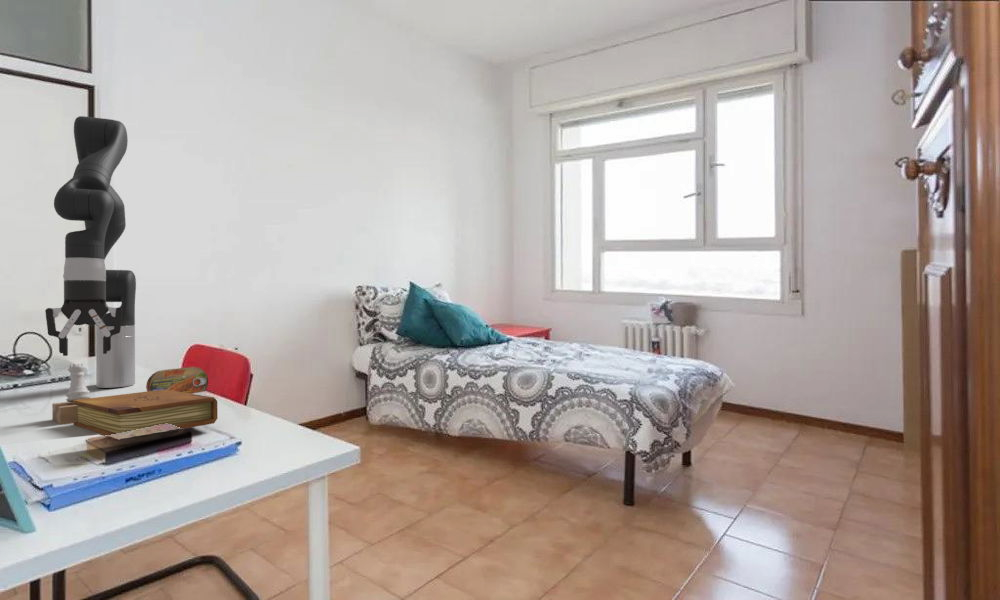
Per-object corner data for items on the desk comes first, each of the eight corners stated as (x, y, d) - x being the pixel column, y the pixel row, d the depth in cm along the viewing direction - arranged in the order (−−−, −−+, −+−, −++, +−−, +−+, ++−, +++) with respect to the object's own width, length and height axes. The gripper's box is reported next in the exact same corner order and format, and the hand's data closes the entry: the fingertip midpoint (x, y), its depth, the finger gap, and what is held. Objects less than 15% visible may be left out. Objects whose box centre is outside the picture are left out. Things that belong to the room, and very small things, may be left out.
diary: (217, 423, 121) (217, 396, 121) (118, 441, 106) (118, 410, 106) (167, 412, 134) (167, 388, 134) (73, 426, 119) (73, 399, 119)
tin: (149, 404, 144) (149, 371, 144) (144, 402, 146) (144, 370, 146) (209, 396, 157) (209, 365, 157) (203, 395, 158) (203, 365, 158)
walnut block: (52, 421, 125) (52, 403, 125) (95, 416, 131) (95, 398, 131) (60, 426, 120) (60, 407, 120) (105, 420, 126) (105, 402, 126)
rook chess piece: (68, 400, 122) (66, 363, 124) (64, 403, 125) (62, 367, 127) (93, 397, 126) (91, 362, 127) (88, 400, 129) (86, 365, 130)
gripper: (124, 280, 132) (124, 351, 132) (45, 279, 124) (46, 355, 124) (124, 279, 126) (124, 354, 126) (41, 278, 118) (41, 357, 118)
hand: (85, 354), depth 125 cm, fingers open, 6 cm apart
